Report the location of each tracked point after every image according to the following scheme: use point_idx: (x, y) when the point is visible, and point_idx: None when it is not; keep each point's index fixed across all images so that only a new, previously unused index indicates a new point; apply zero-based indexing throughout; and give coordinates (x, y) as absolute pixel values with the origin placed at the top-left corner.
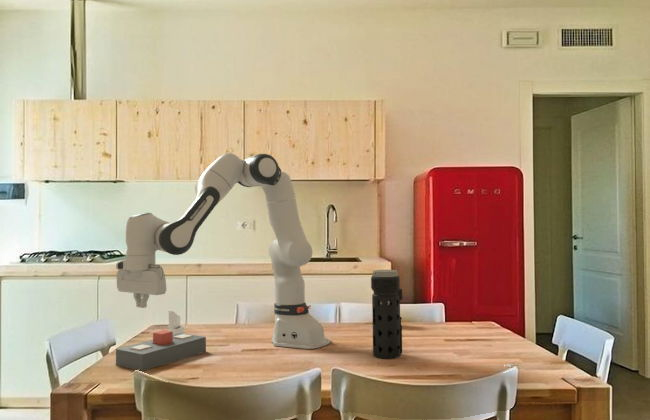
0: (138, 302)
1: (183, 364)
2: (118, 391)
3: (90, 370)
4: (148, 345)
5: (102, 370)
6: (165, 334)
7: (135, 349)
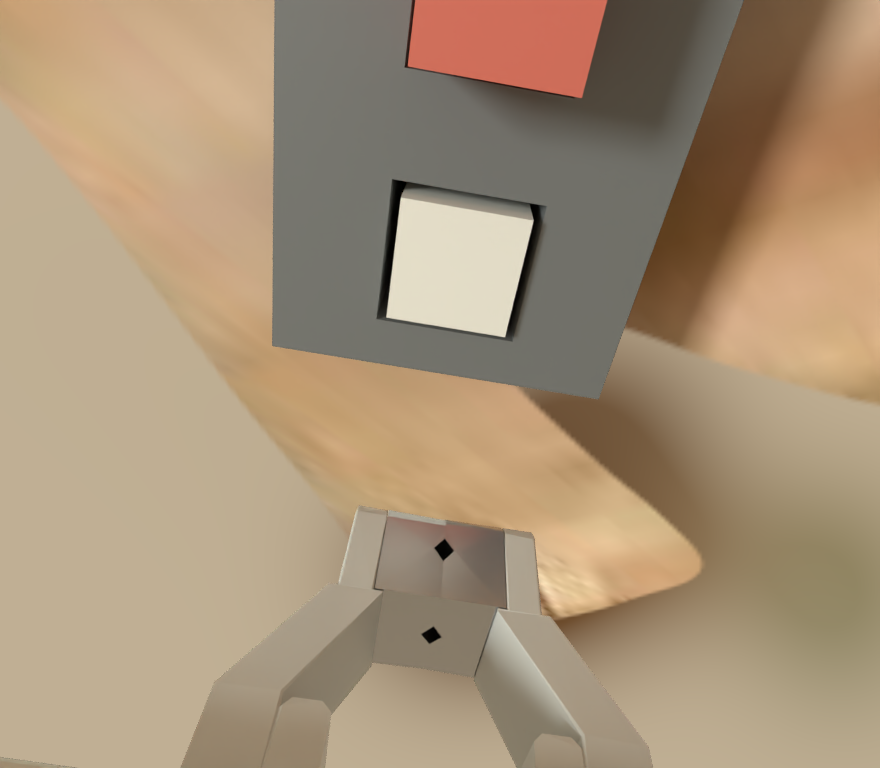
0: (403, 659)
1: (806, 99)
2: (668, 579)
3: (269, 419)
4: (443, 156)
5: (332, 400)
6: (596, 32)
7: (449, 323)
